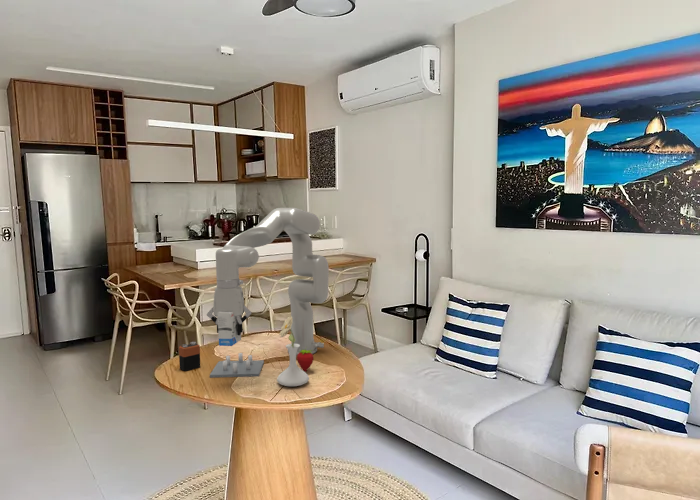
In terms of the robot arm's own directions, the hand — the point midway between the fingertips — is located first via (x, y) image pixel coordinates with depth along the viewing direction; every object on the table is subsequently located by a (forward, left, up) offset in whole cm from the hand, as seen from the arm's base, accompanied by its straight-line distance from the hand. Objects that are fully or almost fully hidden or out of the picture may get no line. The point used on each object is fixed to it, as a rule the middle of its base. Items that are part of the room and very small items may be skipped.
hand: (229, 334), depth 169 cm
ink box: (0, 0, -3) cm, 3 cm away
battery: (+19, -19, -18) cm, 32 cm away
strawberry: (-26, -12, -18) cm, 34 cm away
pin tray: (0, -16, -18) cm, 24 cm away
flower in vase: (-22, +1, -18) cm, 29 cm away
